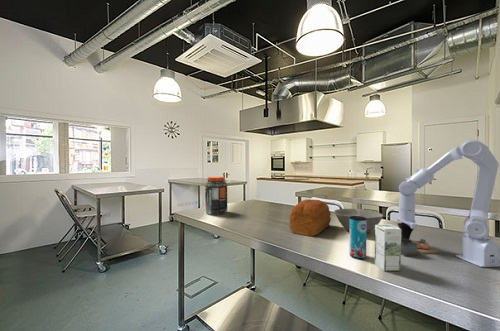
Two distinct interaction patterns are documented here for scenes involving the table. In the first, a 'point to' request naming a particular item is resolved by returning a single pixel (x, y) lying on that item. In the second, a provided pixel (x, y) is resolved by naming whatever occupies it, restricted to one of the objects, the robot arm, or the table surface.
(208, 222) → the table surface
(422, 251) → the pintle plate
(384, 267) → the milk carton
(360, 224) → the beverage can
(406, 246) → the panel
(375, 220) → the ceramic bowl
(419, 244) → the link
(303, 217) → the bread
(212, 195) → the supplement tub
